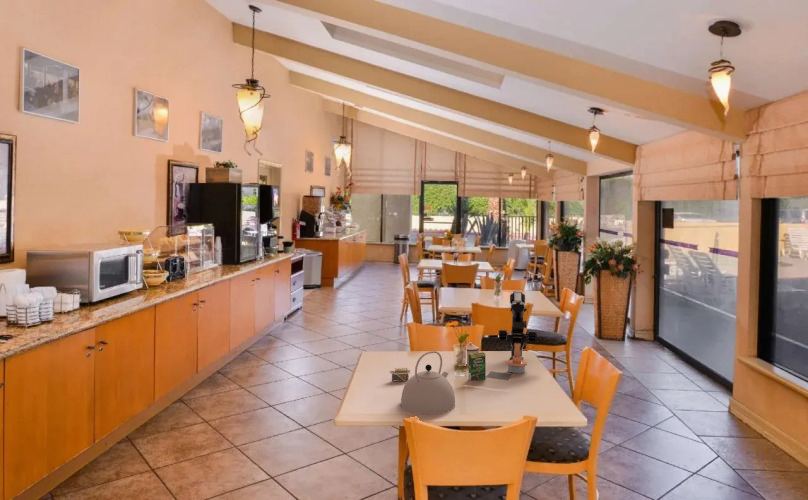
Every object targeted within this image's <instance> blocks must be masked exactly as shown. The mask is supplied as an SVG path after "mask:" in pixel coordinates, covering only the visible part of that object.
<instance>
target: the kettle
mask: <svg viewBox="0 0 808 500" xmlns="http://www.w3.org/2000/svg"><path fill="white" fill-rule="evenodd" d="M430 354H437V355H438V356H439V361H440V362H439V369H438V372H437V371H432V367H433V366H432V365H431V364H426V365H425V370H424V371H419V372H418V366H419V364H420V362H421V360H422V359H423V357H425V356H427V355H430ZM414 368H415V369H414V375H413V376H411V377H410V378H408V380H406V383H405V385H404V386H403V389H402V391H401V400H400V402H401V403H400V405H401V407H402V408H403V409H404V410H405V409H406V410H405V411H407V410H408V412H410V413H413V412H414V414H420V415H440V414H445V412H446V413H449V412H451V411H453V410H454V409H455V408H456V395H455V390H454V388H453V385H452V384H451V383H450V381H449V380H448V379H447V378H448V375H449V372H447V371H443V372H442V373H441V371H442V368H443V356H442V355H441V353H440V352H439V351H435V350H432V351H427V352H425V353H423V354H421V356H420V357H419V358H418V359H417V361H416V364H415V367H414ZM452 409H453V410H452ZM448 411H449V412H448Z"/></svg>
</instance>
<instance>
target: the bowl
mask: <svg viewBox="0 0 808 500" xmlns="http://www.w3.org/2000/svg"><path fill="white" fill-rule="evenodd" d="M508 372H510V373H511V374H523V373H525V372H526V366H523V367H516V366H510V365H508Z"/></svg>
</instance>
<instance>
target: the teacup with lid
mask: <svg viewBox="0 0 808 500" xmlns="http://www.w3.org/2000/svg"><path fill="white" fill-rule="evenodd" d="M466 345H467V365H466V366H469V357H468V355H469V354H474V353H480V352H479V351H480V348H479V346H478V345H477V346H476V345H475V344H473V342H471V341H470V342H467V344H466Z"/></svg>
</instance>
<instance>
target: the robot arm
mask: <svg viewBox="0 0 808 500" xmlns="http://www.w3.org/2000/svg"><path fill="white" fill-rule="evenodd" d="M509 304H510V312H511V315H512V318H511V332H510V331H507V329H500V330H499V331H498V340H499V341H506V342H508V349H511V350H510V353H511V355H510V358H509V360H513V356H514V343H520V344H521V354H520V356H522V360H524V357H523V350H525V349H526V347H527V346H526V345H527V343H529V342H537V335H538V334H537V331H534V330H533V331H531V330H529V331H528V333H524V331H525V330H524V329H527V327H528V326H527V325H528V323H527V320H524V317H525V316H524V315H525V313H526V311H527V310H528V309H527V308H528V307H526V305H525V304H526V295H525V294H524V293H523V291H519V290H514V291H513V293H511V294H510V295H509Z"/></svg>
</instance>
